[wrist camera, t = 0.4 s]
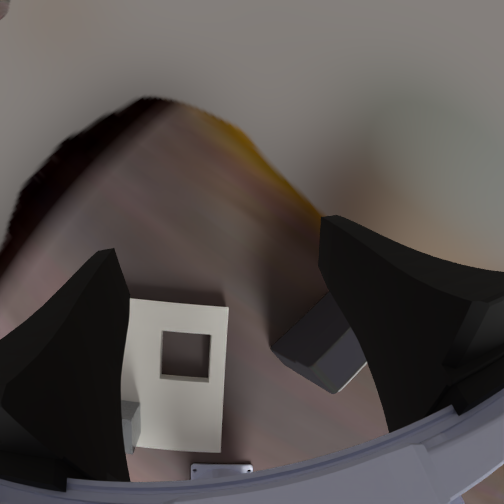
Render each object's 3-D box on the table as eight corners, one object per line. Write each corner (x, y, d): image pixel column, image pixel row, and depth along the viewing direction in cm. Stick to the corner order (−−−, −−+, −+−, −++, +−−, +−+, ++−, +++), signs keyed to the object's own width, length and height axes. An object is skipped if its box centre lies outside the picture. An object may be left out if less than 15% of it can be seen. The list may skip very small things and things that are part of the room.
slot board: (218, 444, 35) (220, 452, 32) (102, 432, 32) (97, 439, 30) (226, 306, 38) (228, 307, 35) (104, 295, 35) (98, 294, 33)
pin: (140, 432, 31) (132, 454, 25) (108, 427, 30) (95, 447, 25) (140, 402, 32) (131, 420, 26) (107, 397, 31) (93, 413, 25)
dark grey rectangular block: (287, 368, 38) (339, 401, 23) (265, 344, 38) (309, 367, 23) (347, 310, 41) (419, 310, 26) (327, 285, 41) (395, 275, 26)
